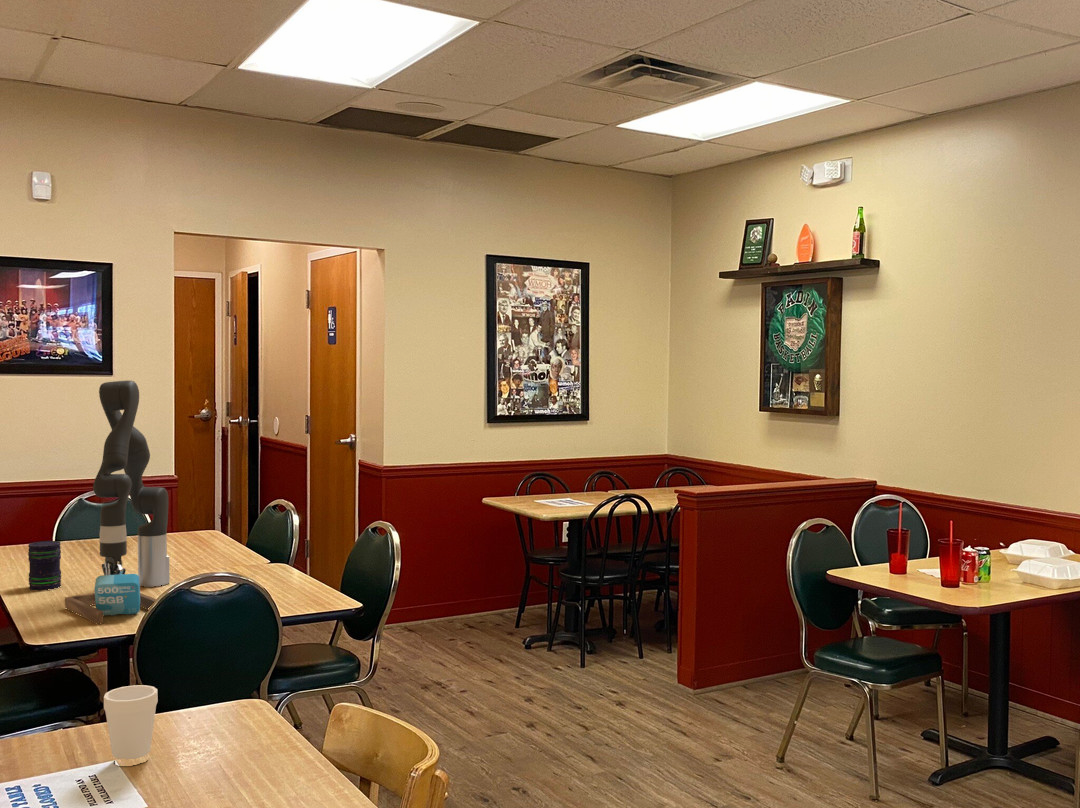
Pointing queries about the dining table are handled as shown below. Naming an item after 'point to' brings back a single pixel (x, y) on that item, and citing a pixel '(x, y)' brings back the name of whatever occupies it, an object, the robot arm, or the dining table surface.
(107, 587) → the data package
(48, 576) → the storage jar
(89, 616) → the walnut frame
